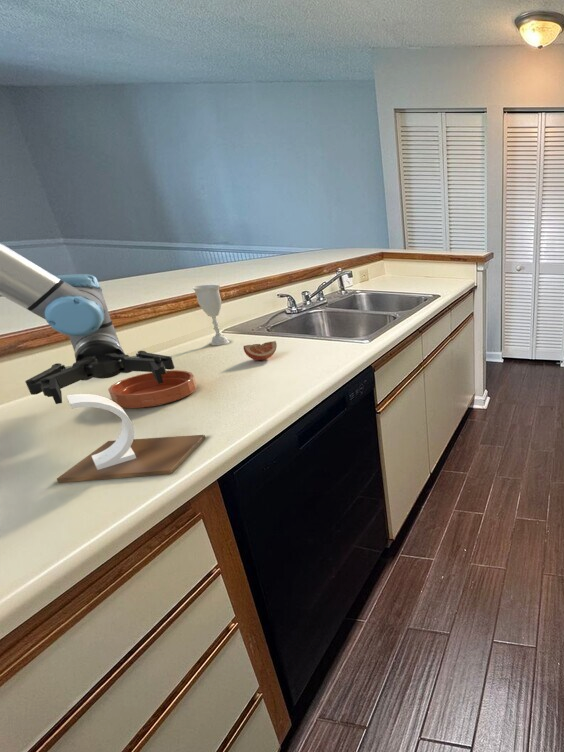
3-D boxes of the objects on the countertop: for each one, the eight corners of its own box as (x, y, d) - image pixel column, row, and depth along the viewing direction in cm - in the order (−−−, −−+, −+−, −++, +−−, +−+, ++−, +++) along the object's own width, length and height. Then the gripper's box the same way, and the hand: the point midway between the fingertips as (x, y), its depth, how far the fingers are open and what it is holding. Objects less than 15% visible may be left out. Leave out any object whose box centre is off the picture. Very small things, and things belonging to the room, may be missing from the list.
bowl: (96, 412, 90) (90, 397, 88) (140, 385, 103) (135, 371, 102) (176, 407, 92) (171, 393, 91) (208, 381, 106) (205, 368, 105)
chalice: (201, 345, 134) (186, 288, 127) (218, 339, 140) (204, 284, 133) (222, 346, 133) (207, 289, 126) (238, 340, 139) (225, 285, 132)
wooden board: (58, 482, 67) (56, 478, 67) (109, 444, 78) (108, 440, 78) (171, 473, 70) (170, 469, 69) (205, 438, 81) (204, 434, 80)
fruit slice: (275, 353, 127) (272, 338, 125) (282, 359, 123) (279, 343, 121) (244, 359, 122) (240, 343, 120) (250, 365, 117) (246, 348, 116)
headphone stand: (92, 459, 72) (66, 395, 67) (138, 446, 76) (116, 385, 71) (97, 470, 69) (69, 403, 64) (144, 455, 73) (121, 392, 69)
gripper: (179, 361, 98) (200, 387, 84) (20, 388, 81) (14, 427, 68) (169, 329, 95) (190, 351, 81) (3, 351, 78) (-7, 384, 65)
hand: (110, 385), depth 74 cm, fingers open, 13 cm apart
